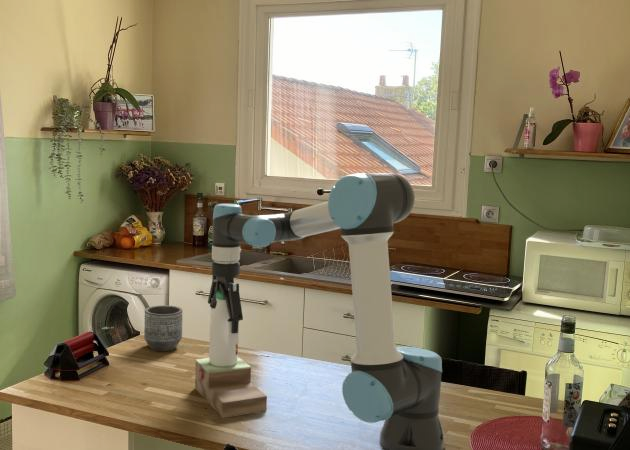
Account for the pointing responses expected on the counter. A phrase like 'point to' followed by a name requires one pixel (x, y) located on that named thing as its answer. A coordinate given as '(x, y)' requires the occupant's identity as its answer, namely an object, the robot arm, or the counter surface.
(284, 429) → the counter surface
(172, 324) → the planter
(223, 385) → the plinth
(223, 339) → the milk bottle
